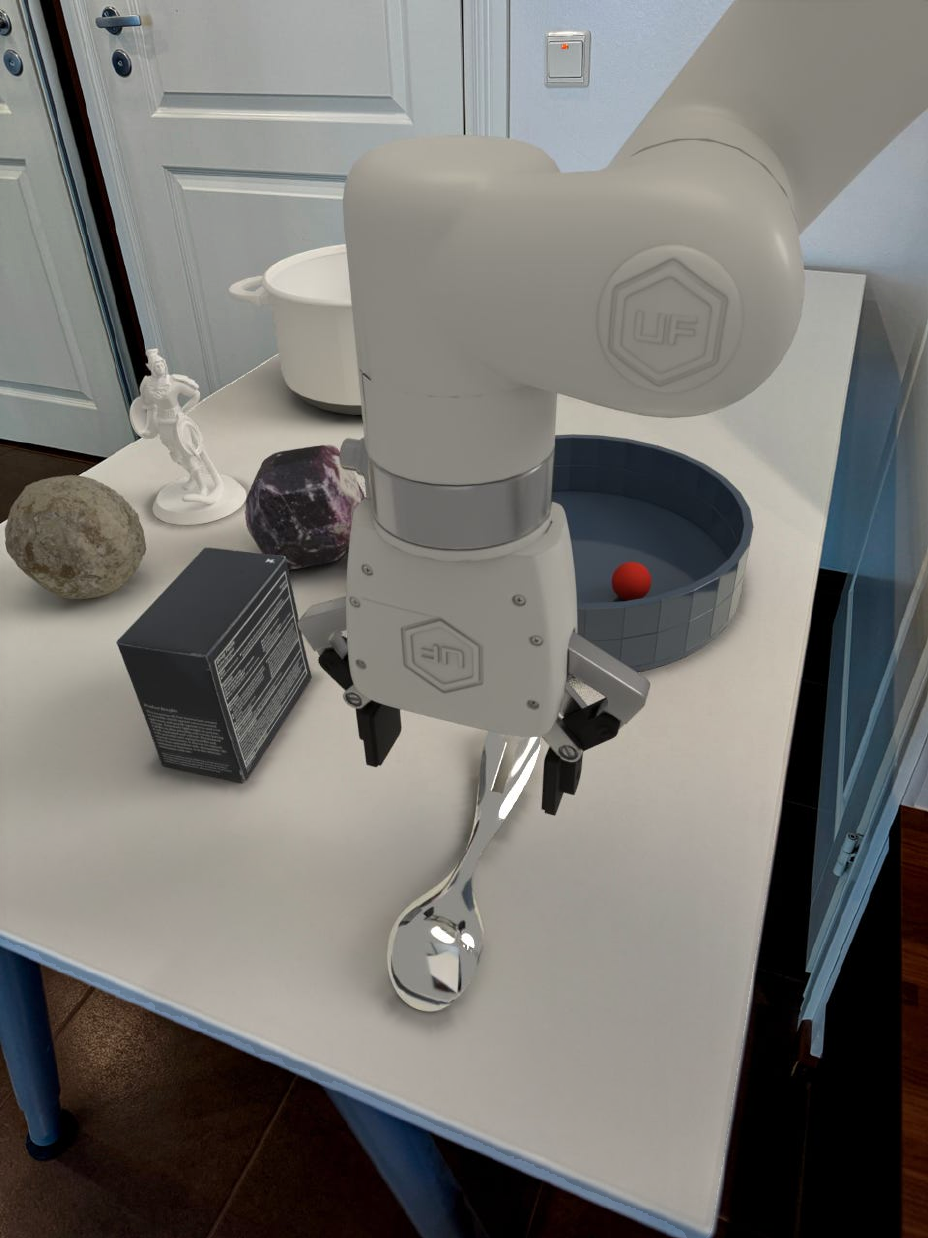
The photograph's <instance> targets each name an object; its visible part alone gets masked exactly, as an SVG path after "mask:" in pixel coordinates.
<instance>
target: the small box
mask: <svg viewBox="0 0 928 1238" xmlns="http://www.w3.org/2000/svg"><path fill="white" fill-rule="evenodd" d="M293 590H294V589H293V585H292V581H291V576H290V571H289V570H288V567H287V561H286V557H285V556H279V555H269V554H263V553H262V552H261V553H259V552H251V551H242V550H233V549H226V548H216V547H204V548H202V550H201V551H200V552H199V553H198V554H197V555H196V556H195V557H194V558H193V559H192V561H190V563H189V564H187V566H186V567H185V568H184V569H183V570H182V571H181V572H180V574H179V575H177V577H176V578H175V579H174V580H173V581H172V582H171V583H170V584H169V585H168V586H167V588H166V589H164V591H163V592H162V593H161V594H160V595H159V596H158V597H157V598H156V599H155V600H154V601H153V602H152V603H151V605H149V607H147V609H146V610H145V611H144V612H143V613H142V614H140V616H139V617H137V619H136V620H135V621H134V623H133V624H132V625H131V626H130V627H129V628H128V629H126V631H125V632H124V633H123V634H122V635H121V636H120V637H119V638H118V639H117V641H116V645H117V647H118V650H119V653H120V655H121V658H122V661H123V663H124V667H125V668H126V669H125V670H126V672H127V674H128V676H129V679H130V682H131V684H132V687H133V690H134V692H135V695H136V698H137V701H138V703H139V706H140V709H141V711H142V714H143V717H144V720H145V722H146V726H147V728H148V731H149V733H150V736H151V738H152V742H153V744H154V748H155V750H156V752H157V755H158V759H159V761H160V764H161V766H163V767H166V768H170V769H175V770H180V771H185V772H191V773H194V774H199V775H204V776H210V777H215V778H219V779H224V780H229V781H234V782H239V783H245V782H246V781H247V779H248V778H249V776H250V775H251V774H252V772H253V770H254V769H255V768H256V766H257V764H258V763H259V761H260V760H261V758H262V756H263V755H264V754H265V751H266V750H267V749H268V747H269V745H270V744H271V742H272V740H274V738H275V736H276V735H277V733H278V731H279V730H280V728H281V726H282V725H283V723H284V722H285V721H286V719H287V717H288V716H289V714H290V713H291V711H292V709H293V708H294V707H295V705H296V703H297V701H298V700H299V699H300V697H301V695H302V694H303V692H304V690H305V689H306V687H307V686H308V684H309V683H310V680H312V677H313V676H312V671H311V668H310V664H309V661H308V657H307V651H306V648H305V644H304V638H303V634H302V632H301V631H300V629H299V627H298V621H299V613H298V608H297V604H296V599H295V596H294V591H293Z"/></svg>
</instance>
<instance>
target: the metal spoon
mask: <svg viewBox="0 0 928 1238" xmlns="http://www.w3.org/2000/svg"><path fill="white" fill-rule="evenodd" d="M541 743H542V737H541V736H539V737H532V738H522V740H520V741H519V742H517V745H516V747H515V751H514V755H513V757H512V761H511V764H510V767H509V771H508V774H507V778H506V781H505V784H504V787H503V790H502V792H497V791H494V786H495V784H496V780H497V777H498V774H499V770H500V767H501V765H502V761H503V758H504V755H505V752H506V749H507V746H508V741H506V740H505V739H504V737H503V734H499V733H495V732H490V731H487V733H486V736H485V739H484V744H483V748H482V753H481V759H480V767H479V775H478V785H477V795H476V806H475V813H474V814H475V815H474V820H473V825H472V830H471V834H470V836H469V837H470V838H469V840H468V844H467V846H466V849H465V851H464V853H463V855H462V857H461V859H460V860H459V862H458V863H457V865H456V866H455V868H453V870H452V871H451V872H450V873H448V875H447V876H446V877H445V878H444V879H443V880H441V882H439V883H438V884H436V885H435V886H434V887H432V888H431V889H429V890H428V891H426V892H425V893H424V894H422V895H420V896H419V897H418V898H416V899H415V900H413V902H411V903H410V904H409V905H407V907H406V908H405V909H404V910H403V911H401V913H400V915H399V916H398V917H397V919H396V920H395V921H394V924H393V926H392V929H391V930H390V934H389V937H388V941H387V947H386V964H387V972H388V975H389V978H390V981H391V983H392V986H393V989H394V990H395V992H396V994H397V995H398V996H399V998H400V999H402V1001H404V1002H405V1003H406V1004H407V1005H409V1006H410V1007H411V1008H414V1009H416V1010H419V1011H423V1012H437V1011H440V1010H443V1009H445V1008H446V1007H448V1006H450V1005H451V1004H452V1003H454V1002H456V1000H458V998H459V997H460V996H461V995H462V993H463V992H464V991H465V990H466V988H467V987H468V985H469V984H470V982H471V981H472V979H473V977H474V975H475V973H476V972H477V971H476V970H477V968H478V966H479V963H480V960H481V957H482V953H483V950H484V942H485V941H484V940H485V939H484V936H485V935H484V925H483V921H482V918H481V917H482V916H481V914H480V913H481V912H480V911H479V907H478V903H477V901H476V897H475V894H474V889H473V878H474V872H475V868H476V865H477V862H478V861H479V859H480V856H482V853H483V852H484V850H485V849H486V847H487V846H488V844H489V842H490V841H491V839H492V838H493V837H494V836H495V834H496V833H497V831H499V828H501V826H502V825H503V823H504V821H505V820H506V818H507V817H508V815H509V814H510V812H511V811H512V810H513V807H514V806H515V804H516V803H517V801H518V799H519V797H520V796H521V794H522V792H523V790H524V788H525V786H526V785H527V782H528V780H529V778H530V776H531V773H532V771H533V769H534V767H535V764H536V760H537V758H538V754H539V753H540V748H541Z"/></svg>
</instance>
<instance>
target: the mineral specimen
mask: <svg viewBox="0 0 928 1238" xmlns="http://www.w3.org/2000/svg"><path fill="white" fill-rule="evenodd" d="M339 455H340V449H339V448H338V447H337V446H335V445H331V444H320V445H313V446H305V447H299V448H293V449H289V450H282V451H278V452H274V453H271V454H270V455H268V456H267V457H266V458H265V459H263V461H262V462H261V465H260V467H259V468H258V471H257V473H256V475H255V477H254V479H253V482H252V484H251V487H250V489H249V491H248V493H247V497H246V500H245V509H244V515H245V516H244V517H245V518H244V519H245V525H246V528H247V531H248V532H249V534H250V536H251V537H252V539H253V541H254V542H255V544H256V545H257V547H258V550H260V552H261V554H269V555H279V556H285V557H286V561H287V567H288V571H289V570H296V569H304V568H308V567H313V566H318V565H323V564H328V563H333V562H335V561H339V560H342V559H344V558H345V557H346V556H348V552H349V542H350V533H351V526H352V520H353V514H354V510H355V508H356V506H357V505H358V504H359V503H360V502H361V501H362V500H363V499H365V498H366V495H365V493H364V491H363V489H362V487H361V486H360V484H359V481H358V479H357V476H356V471H351V470H345V469H343V468H342V467H341V465H340V460H339Z"/></svg>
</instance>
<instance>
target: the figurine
mask: <svg viewBox="0 0 928 1238" xmlns="http://www.w3.org/2000/svg"><path fill="white" fill-rule="evenodd" d="M158 353H159V349H158V348H157V347H156V348H155V347H154V348H150V349H147V350H146V351H145V356H146V357H147V358H148V362H147V363H145V366H146V367H147V369H148V370H149V371H150V372H151V375H144V377H143V379H142V381H141V383H140V384H139V385H140V386H139V392H140V396H137V397H135V399H134V400H133V401H132V402H131V403H130V404H131V405H130V408H129V421H130V424H131V427H132V429H133V431H134V432H135V433H136V435H137V436H138V437H140V438H142V439H144V440H153V439H155V438H157V436H158V435H159V440H160V442H161V443H162V445H163V446H165V447H166V448H167V449H168V450H169V456H170V459H171V460H172V461H173V462H174V463H175V464H177V465H178V466H180V467H182V468H183V469H185V471H186V472H187V473H188V475H187V476H184V477H181V478H178V479H176V480H174V481H171V482H170V483H167V484H166V485H165V486H164V487H162V488H161V489H160V490H159V492H158V493H157V495H156V497H155V500H154V502H153V504H152V513H153V515H154V516H155V517H156V518H157V519H158V520H160V521H162V522H165V523H167V524H172V525H176V526H177V525H178V526H194V525H203V524H207V523H210V522H215V521H218V520H221V519H224V518H226V517H228V516H230V515H233V513H235V512H236V511H238V510H239V509H240V508H241V507H242V506H243V505H244V503H246V499H247V496H248V493H247V491H246V489H245V487H244V486H242V485H241V484H240V483H239V482H238V481H236V480H235V478H233V477H231V476H230V475H226V474H221V473H219V472H218V469H217V468H216V466H215V465H214V462H213V461H212V460H211V457H210V456H209V454H208V452H207V451H206V449H205V447H204V437H203V435H202V432H201V430H200V428H199V427H198V425H197V424H196V422H195V421H193V420H192V419H191V418H190V416H189V415H188V414H190V413H191V412H193V411H194V410H195V409H196V405H197V404H198V403H199V401H200V399H201V392H200V391H199V390H198V389H200V385H199V384H198V383H197V382H196V381H195V380H194V379H192V378H189V377H188V376H187V375H183V374H177V373H173V374H170V373H169V371H168V365H167V362H166V359H165V358H163V357H162V356H161V355H159V354H158ZM181 394H182V396H183V395H184V396H185V397H188V398H190V399H188V401H187V402H186V403H185V404H184V405H183V406H181V405H180V402H179V395H181ZM194 448H195V449H194ZM196 459H197V460H198V461H199V462H201V463H203V465H204V466H205V468H206V470H207V472H208V473H203V469H202V468H203V465H202V464H201V463H199V462H197V461H196Z"/></svg>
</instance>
